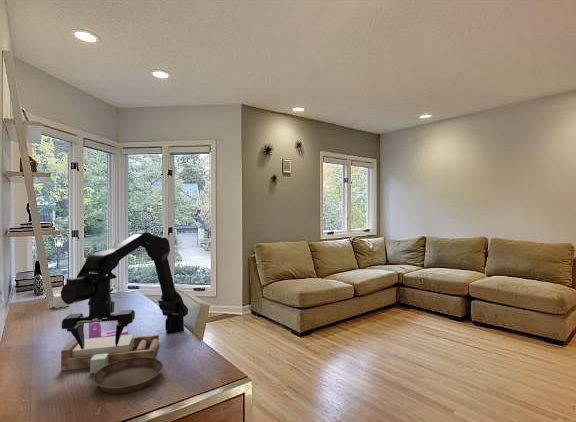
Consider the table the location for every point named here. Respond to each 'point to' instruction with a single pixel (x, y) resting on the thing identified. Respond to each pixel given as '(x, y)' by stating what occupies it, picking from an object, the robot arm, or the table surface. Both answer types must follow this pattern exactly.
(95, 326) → the bracket
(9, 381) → the table surface
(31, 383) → the table surface
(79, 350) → the slab
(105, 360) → the block
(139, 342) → the roller track
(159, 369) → the plant saucer
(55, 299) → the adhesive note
